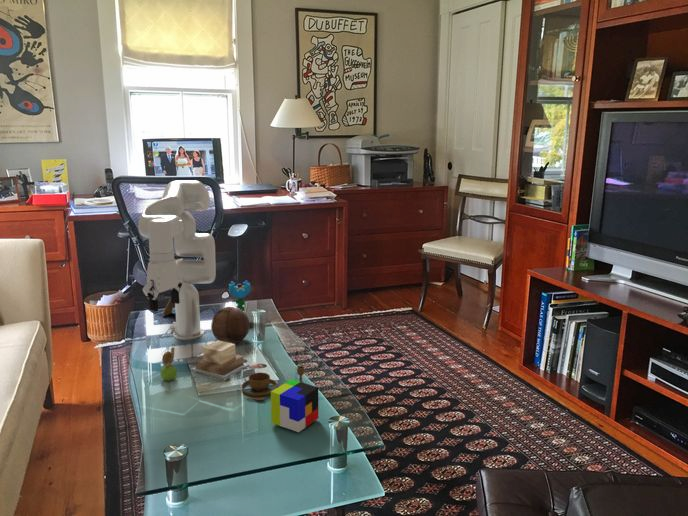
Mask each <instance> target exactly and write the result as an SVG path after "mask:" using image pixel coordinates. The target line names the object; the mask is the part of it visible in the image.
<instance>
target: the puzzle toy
mask: <svg viewBox="0 0 688 516" xmlns="http://www.w3.org/2000/svg"><path fill="white" fill-rule="evenodd" d="M273 389H274V388H273ZM273 389H272V390H273ZM270 414H271V415H270V416H271V417H270V419H271V421H270V422H271V424H273V425H276V426H279V427H282V428H285V429H288V430H291V431H294V432H297V433H300V432H301V431H303V430H304V429H305V428H307V427H308V426H310V425H311V424H312V423H313V422H315V421H317V420H318V419H319V387H318V386H314V385H311V384H308V383H305V382H303V381H302V382H300V381H299V380H294V379H289V380H288V381H286V382H284V383H283V384H281V385H280V386H279V387H278V386H277V388H276V389H274V390H273V391H271V394H270Z"/></svg>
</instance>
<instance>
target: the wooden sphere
mask: <svg viewBox="0 0 688 516" xmlns="http://www.w3.org/2000/svg"><path fill="white" fill-rule="evenodd" d="M210 325H211V327H210V329H211V332H212V334H213V337H214V338H215V339H216V341H217V340H219V341H224V342H228V343H233V344H235V345H236V344H238V343H240V342H242V341H243V340H244V339H245V338H246V337H247V335H248V333H249V330H250V319H249V316H248V315H247V314H246V313H245V311H242V310H241V309H239V308H236V306H226V307H223V308H221V309H219V310H218V311H217V312H216V313H215V314H214V315H213V317H212V320H211V324H210Z"/></svg>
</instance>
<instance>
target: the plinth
mask: <svg viewBox="0 0 688 516" xmlns="http://www.w3.org/2000/svg"><path fill="white" fill-rule="evenodd" d="M202 354H203V356H202V357H201V358H199V359H197V360H196V361H195V366H196V369H198V370H202V371H206V372H210V373H214V374H218V375H221V376H223V375H225V374H227V373H229V372H230V371H232V370H234V369H236V368H237V367H239V366H241V365H243V364H244V363H245V362H244V360H245V359H244V356H243V355H240V354H236V344H233V343H228V342H224V341H219V340H217V339H216V340H215V341H213V342H211V343H209V344H207V345H205V346H203V347H202Z"/></svg>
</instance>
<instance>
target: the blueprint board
mask: <svg viewBox="0 0 688 516" xmlns="http://www.w3.org/2000/svg"><path fill="white" fill-rule="evenodd" d="M249 365H250V363H247V362H244V364H243V365H241V366H239V367H237V368H236V369H234V370H232V371H230V372H229V373H227V374H225V375H223V376H221V375H218V374H214V373H210V372H206V371H202V370H198V369H196V365H195V366H193V367H191V368H189V371H193V372H197V373H200V374H204V375H208V376H212V377H215V378H218V379H221V380H224V379H226V378H228V379H230V378H231V377H230V376H231V375H233V376H235V375H236V374H238V373H239V372H241V371H242V369H243V368H244V369H245V367H246V368H247V367H250V366H251V365H250V366H249ZM244 369H243V370H244ZM240 370H241V371H240ZM237 372H238V373H237ZM235 373H236V374H235ZM234 374H235V375H234ZM229 377H230V378H229Z"/></svg>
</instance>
